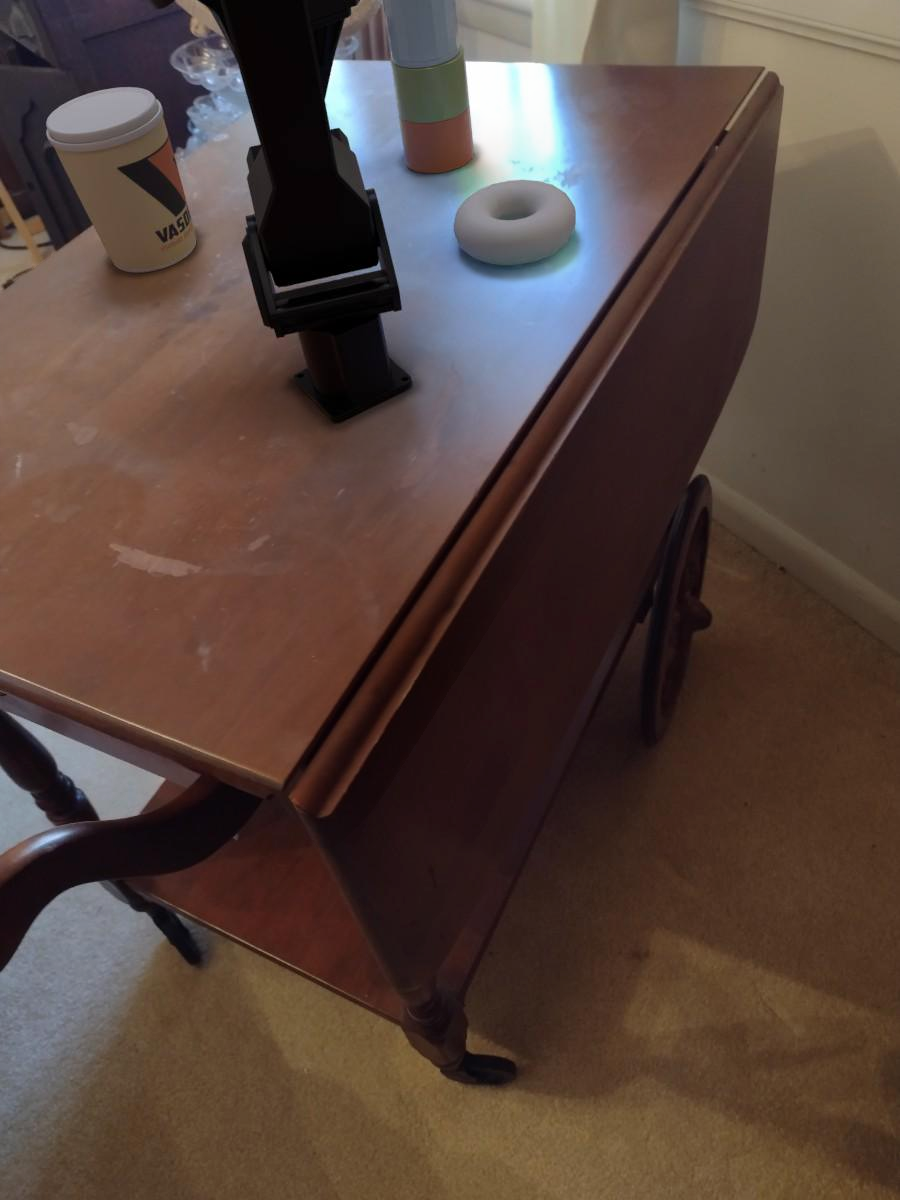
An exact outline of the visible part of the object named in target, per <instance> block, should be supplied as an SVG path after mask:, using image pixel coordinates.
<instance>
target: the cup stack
mask: <svg viewBox="0 0 900 1200" xmlns="http://www.w3.org/2000/svg"><path fill="white" fill-rule="evenodd" d="M389 60H390V61H389V62H390V67H391V69H390V70H391V74H392V81H393V87H394V94H395V101H396V109H397V115H398V121H399V122H398V123H399V128H400V134H401V135H400V136H401V142H402V149H403V155H404V160H405V165H406V166H407V168H409V169H410V170H412V171H413V172H417V173H420V174H440V173H441V174H442V173H447V172H451V171H455V170H457V169H460V168H462V167H463V166H465V165H467V164H468V163H470V162H471V161H472V159H473V158H474V156H475V150H474V149H475V147H474V138H473V128H472V127H473V126H472V116H471V107H470V105H471V104H470V97H469V95H470V94H469V86H468V76H467V73H468V72H467V63H466V53H465V48H464V46H463V45H462V44H460V43H459V53H458V55H457V56H456V57H454V58H453V59H451V60H449V61H447V62H445V63H442V64H439V65H435V66H431V67H424V68H406V67H401V66H398V65H396V64H395V63H394V62H393V61H392V56H391V57H390V59H389Z"/></svg>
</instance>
